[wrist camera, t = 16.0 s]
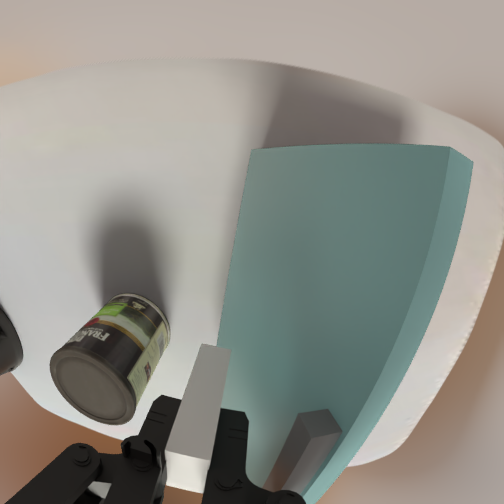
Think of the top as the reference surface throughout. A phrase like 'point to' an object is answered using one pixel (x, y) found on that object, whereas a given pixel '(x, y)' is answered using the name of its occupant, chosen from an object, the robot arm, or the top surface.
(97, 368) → the coffee can
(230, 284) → the cover
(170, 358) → the top surface
